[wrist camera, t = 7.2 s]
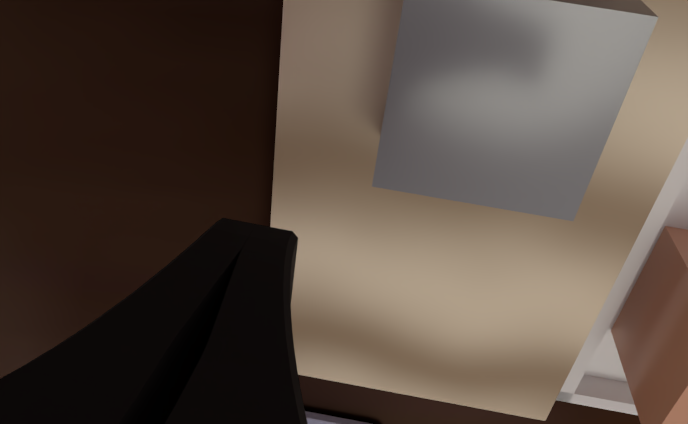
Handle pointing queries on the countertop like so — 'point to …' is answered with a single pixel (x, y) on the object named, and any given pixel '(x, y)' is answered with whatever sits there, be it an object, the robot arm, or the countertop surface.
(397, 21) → the birch board
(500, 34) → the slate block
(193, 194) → the countertop surface
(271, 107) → the countertop surface
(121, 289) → the countertop surface
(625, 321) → the terracotta block
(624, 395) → the grey tray
